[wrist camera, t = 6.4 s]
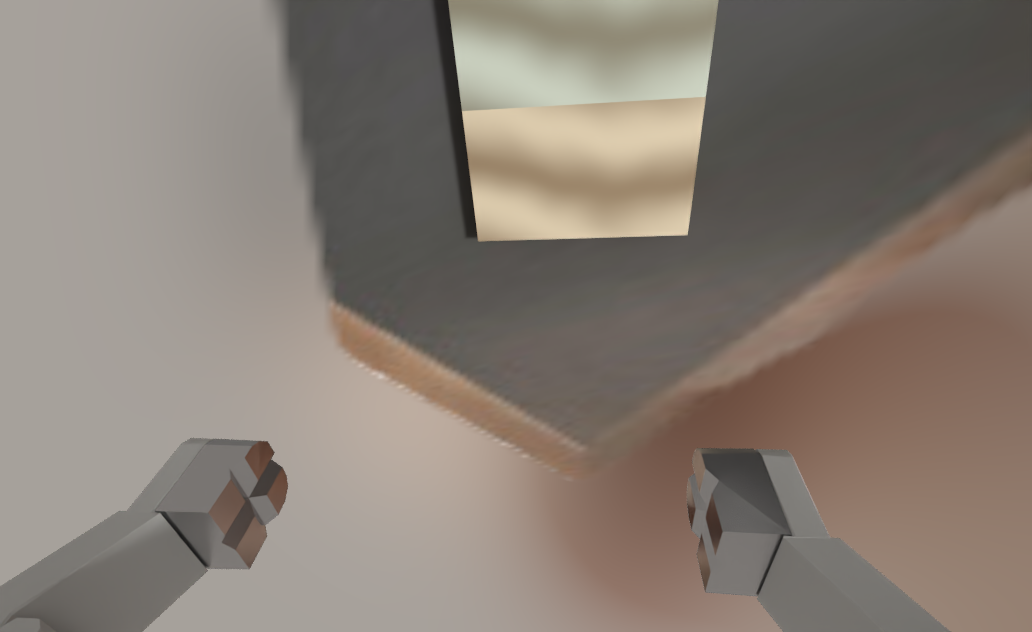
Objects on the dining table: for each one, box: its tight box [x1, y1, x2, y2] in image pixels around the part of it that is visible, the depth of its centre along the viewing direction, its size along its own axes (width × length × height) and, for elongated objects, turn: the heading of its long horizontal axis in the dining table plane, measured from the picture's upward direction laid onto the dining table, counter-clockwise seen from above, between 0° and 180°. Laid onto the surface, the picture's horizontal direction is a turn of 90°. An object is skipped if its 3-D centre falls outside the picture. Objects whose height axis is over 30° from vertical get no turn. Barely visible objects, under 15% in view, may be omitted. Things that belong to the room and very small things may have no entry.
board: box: [448, 0, 718, 241], centre depth 29 cm, size 17×14×1 cm
